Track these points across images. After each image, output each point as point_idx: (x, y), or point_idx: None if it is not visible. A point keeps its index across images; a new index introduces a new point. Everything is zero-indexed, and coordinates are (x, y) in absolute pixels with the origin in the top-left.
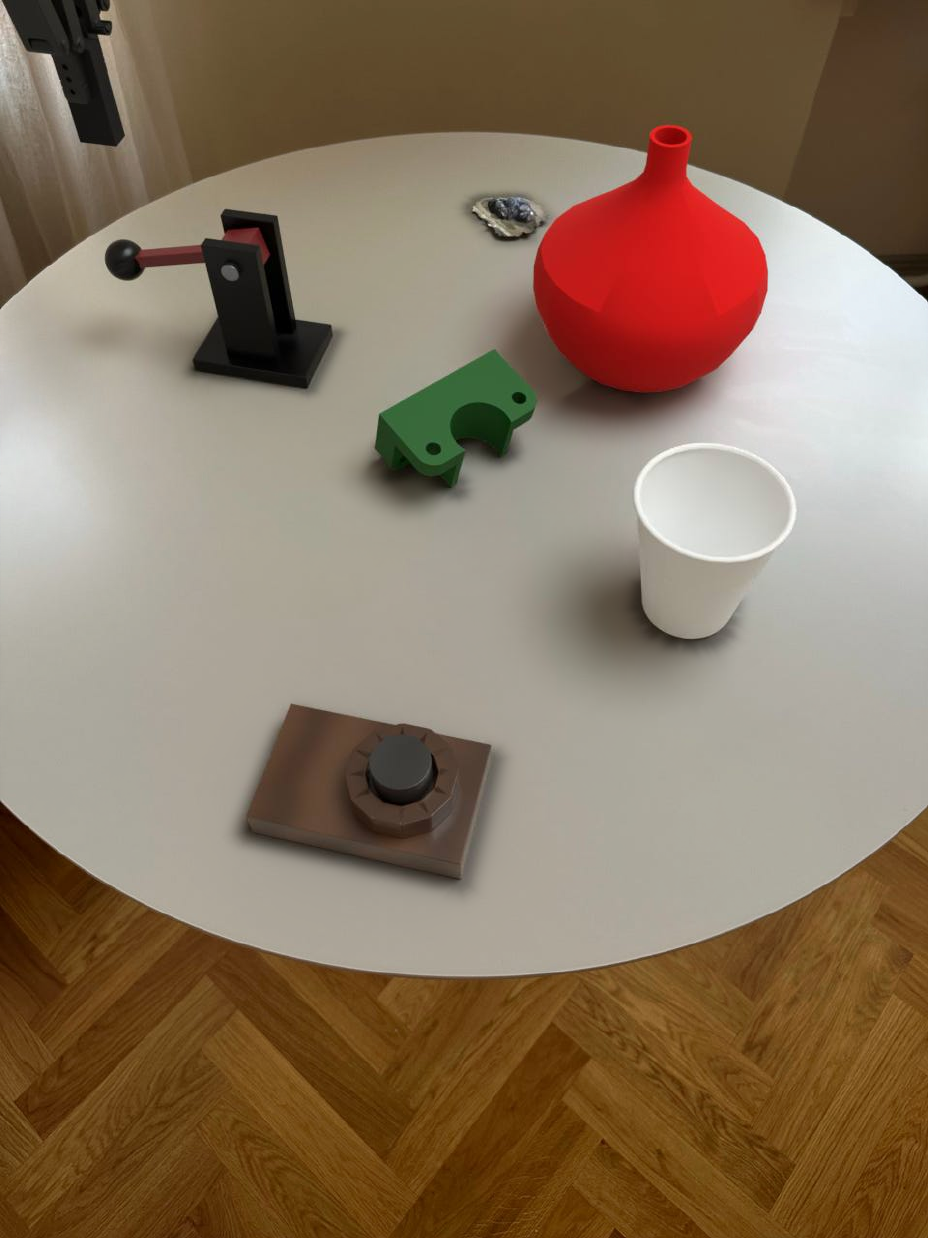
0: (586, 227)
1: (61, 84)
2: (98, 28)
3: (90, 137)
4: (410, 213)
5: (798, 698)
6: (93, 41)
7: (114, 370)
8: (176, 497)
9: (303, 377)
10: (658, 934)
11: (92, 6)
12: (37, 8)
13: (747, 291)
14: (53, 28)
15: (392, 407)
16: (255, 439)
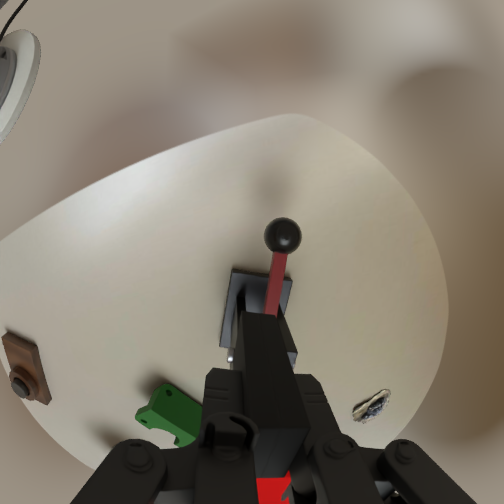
0: (261, 499)
1: (204, 391)
2: (286, 495)
3: (238, 333)
4: (388, 362)
5: None
6: (271, 476)
7: (229, 208)
8: (117, 280)
9: (219, 345)
10: (36, 419)
11: None
12: None
13: None
14: None
15: (157, 414)
16: (170, 318)
